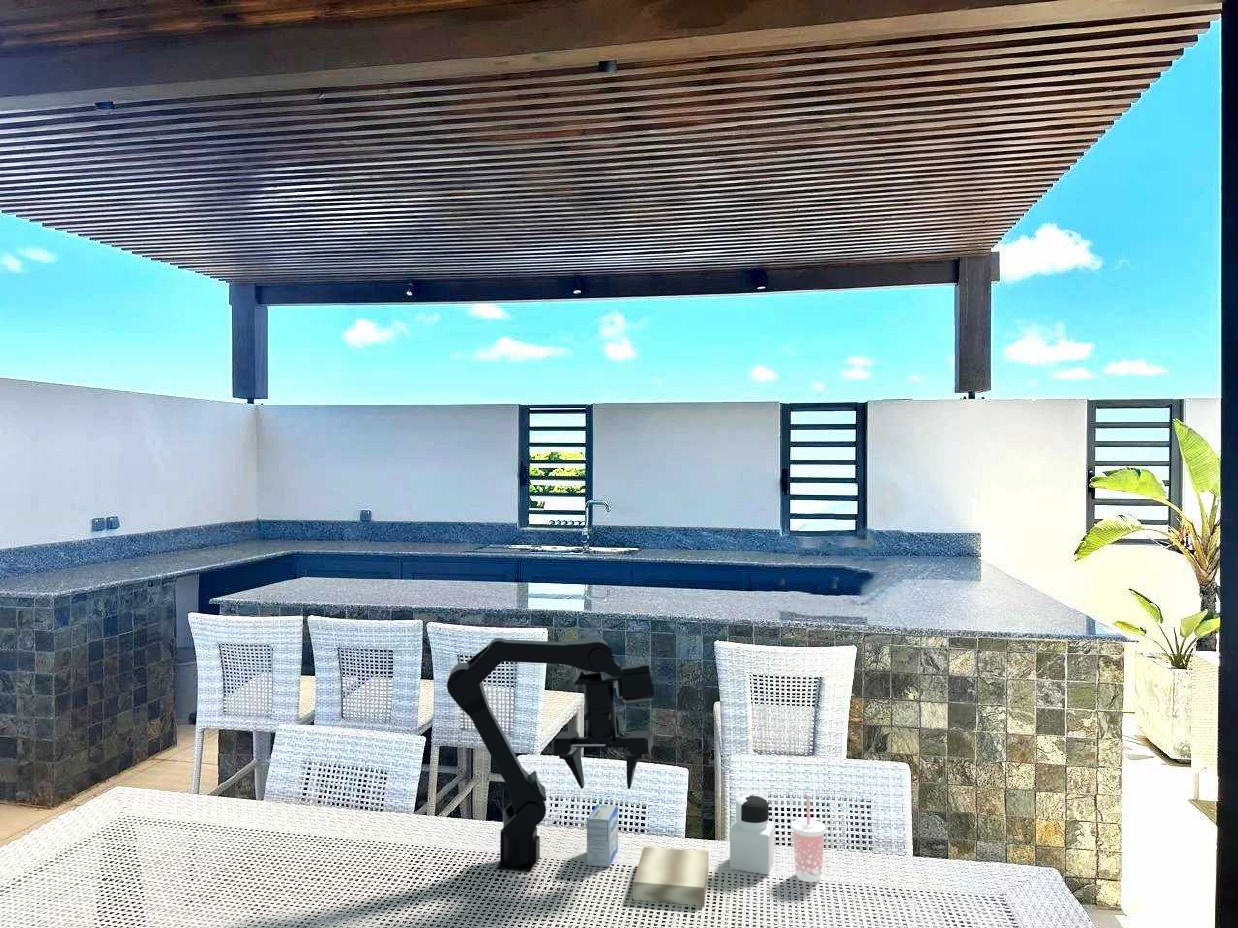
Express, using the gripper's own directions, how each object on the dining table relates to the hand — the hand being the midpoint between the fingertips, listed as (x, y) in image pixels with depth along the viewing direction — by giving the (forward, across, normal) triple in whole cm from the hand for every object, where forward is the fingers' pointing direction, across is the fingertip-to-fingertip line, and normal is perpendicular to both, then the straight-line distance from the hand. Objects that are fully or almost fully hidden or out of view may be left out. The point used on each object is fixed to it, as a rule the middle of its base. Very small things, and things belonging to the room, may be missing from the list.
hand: (605, 788), depth 151 cm
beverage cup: (+16, -36, -1) cm, 40 cm away
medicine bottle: (+15, -26, -3) cm, 31 cm away
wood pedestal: (+14, -13, +8) cm, 20 cm away
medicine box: (+13, +2, 0) cm, 13 cm away
